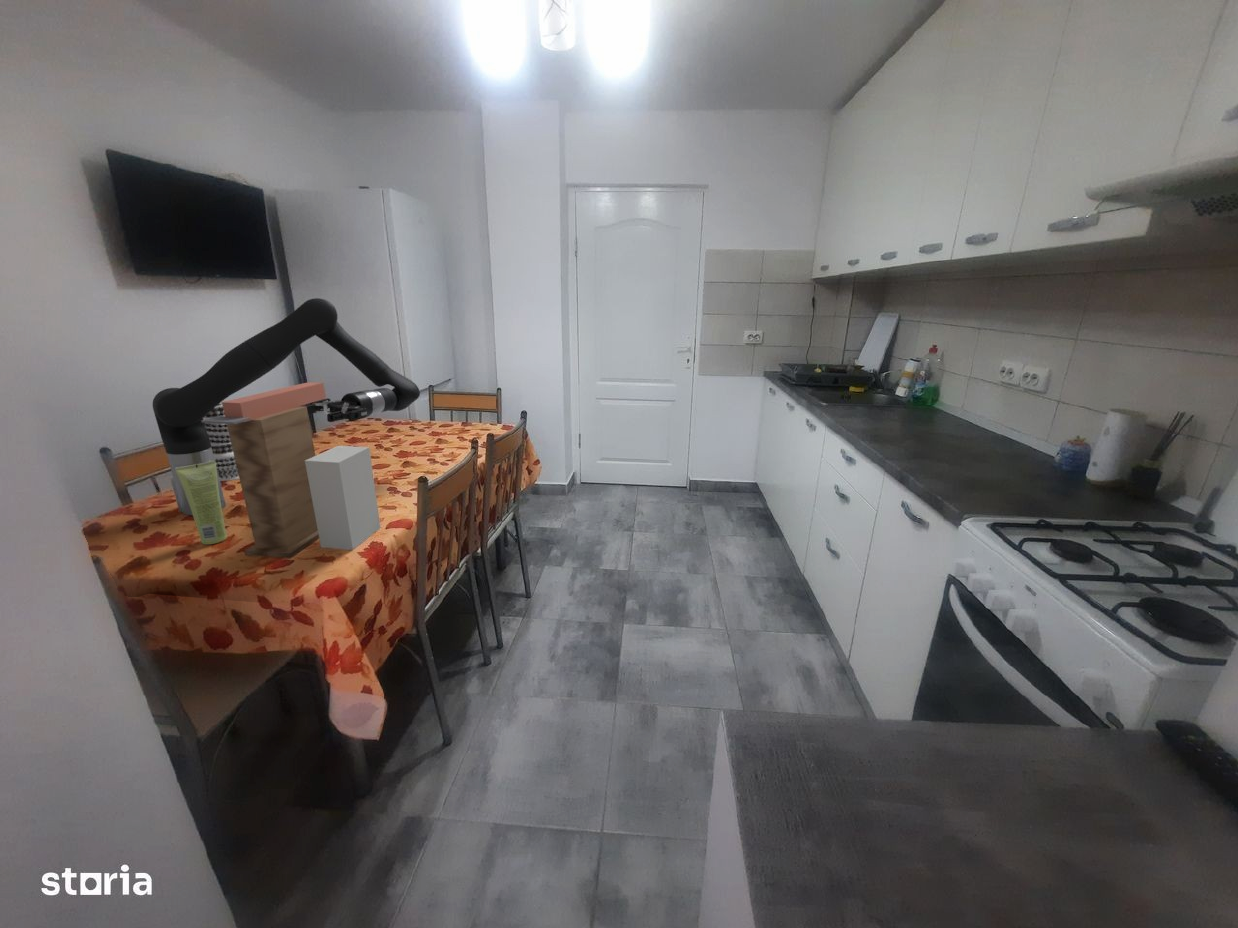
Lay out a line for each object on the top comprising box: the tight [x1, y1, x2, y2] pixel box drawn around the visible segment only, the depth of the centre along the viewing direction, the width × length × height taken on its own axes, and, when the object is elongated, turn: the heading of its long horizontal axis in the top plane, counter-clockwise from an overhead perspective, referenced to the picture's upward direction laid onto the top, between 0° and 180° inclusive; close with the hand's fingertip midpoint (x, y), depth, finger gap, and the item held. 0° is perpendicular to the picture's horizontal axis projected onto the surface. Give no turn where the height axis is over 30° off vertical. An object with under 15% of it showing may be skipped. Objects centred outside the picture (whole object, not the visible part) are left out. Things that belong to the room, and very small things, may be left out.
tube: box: [175, 461, 228, 545], centre depth 116 cm, size 6×5×20 cm
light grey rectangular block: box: [305, 445, 381, 551], centre depth 118 cm, size 8×12×22 cm, turn 175°
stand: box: [227, 405, 320, 559], centre depth 115 cm, size 11×17×32 cm, turn 175°
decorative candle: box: [203, 399, 240, 482], centre depth 155 cm, size 9×9×25 cm
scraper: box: [201, 381, 327, 424], centre depth 111 cm, size 7×30×4 cm, turn 175°
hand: (315, 414), depth 127 cm, fingers open, 8 cm apart
